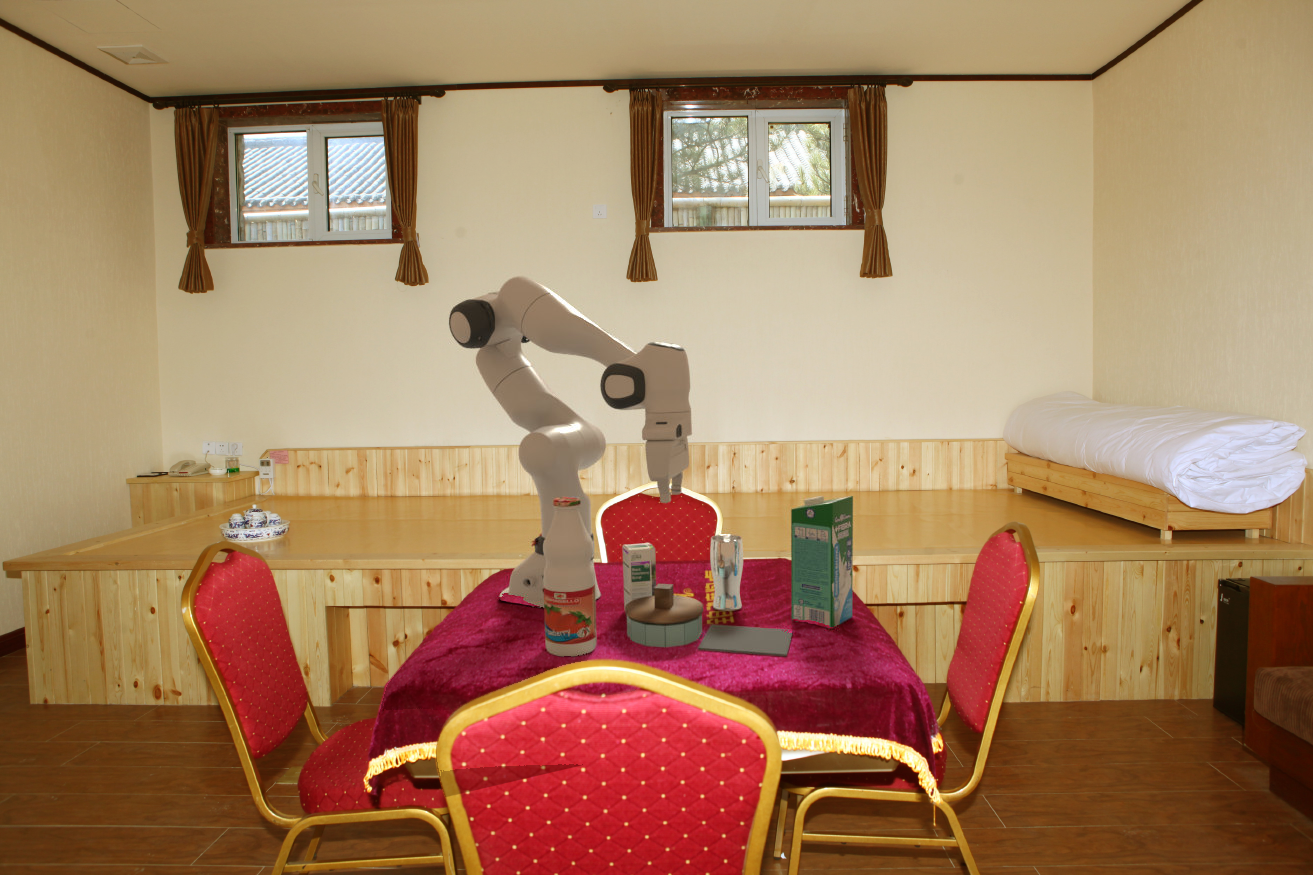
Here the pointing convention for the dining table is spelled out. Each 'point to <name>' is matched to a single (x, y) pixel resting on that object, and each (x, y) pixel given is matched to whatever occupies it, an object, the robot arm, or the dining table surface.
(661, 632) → the bowl
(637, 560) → the syrup box
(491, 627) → the dining table surface
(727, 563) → the chrome tumbler
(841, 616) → the milk carton
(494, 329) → the robot arm
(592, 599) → the fruit juice
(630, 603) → the lid
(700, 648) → the mat
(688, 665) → the dining table surface
